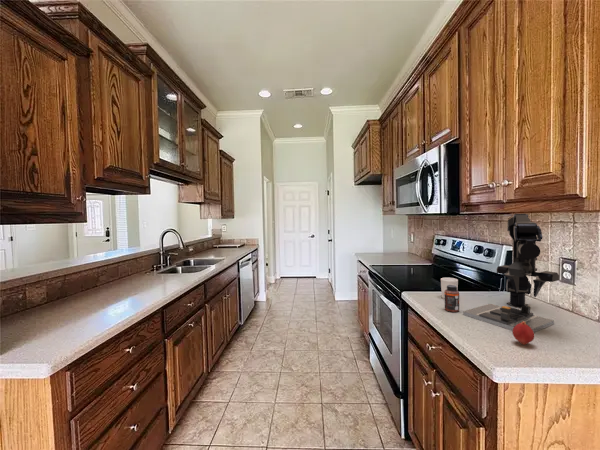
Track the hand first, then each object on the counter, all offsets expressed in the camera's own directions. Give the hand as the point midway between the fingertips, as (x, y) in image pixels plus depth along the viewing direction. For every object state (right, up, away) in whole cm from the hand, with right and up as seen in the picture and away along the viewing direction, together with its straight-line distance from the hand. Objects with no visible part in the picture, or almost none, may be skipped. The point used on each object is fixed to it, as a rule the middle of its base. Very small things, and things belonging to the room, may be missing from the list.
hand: (525, 294), depth 111 cm
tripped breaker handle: (-3, -9, +7) cm, 12 cm away
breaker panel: (-3, -12, +7) cm, 14 cm away
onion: (-13, -13, -15) cm, 24 cm away
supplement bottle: (-19, -12, +19) cm, 29 cm away
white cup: (-11, -11, +36) cm, 39 cm away
